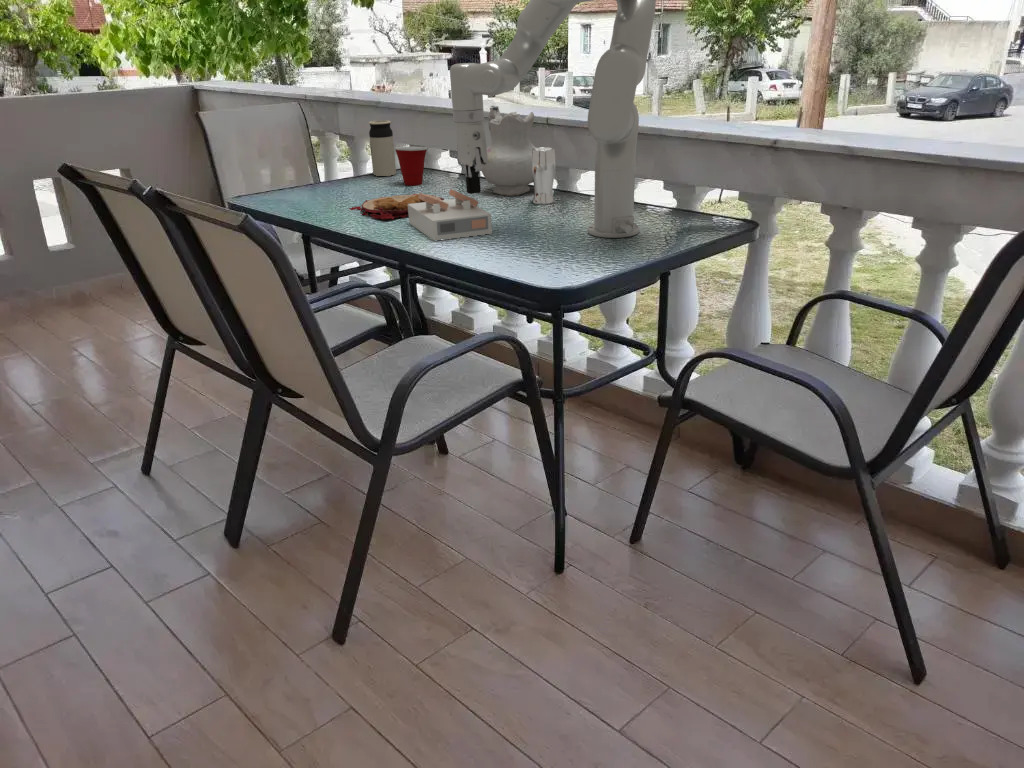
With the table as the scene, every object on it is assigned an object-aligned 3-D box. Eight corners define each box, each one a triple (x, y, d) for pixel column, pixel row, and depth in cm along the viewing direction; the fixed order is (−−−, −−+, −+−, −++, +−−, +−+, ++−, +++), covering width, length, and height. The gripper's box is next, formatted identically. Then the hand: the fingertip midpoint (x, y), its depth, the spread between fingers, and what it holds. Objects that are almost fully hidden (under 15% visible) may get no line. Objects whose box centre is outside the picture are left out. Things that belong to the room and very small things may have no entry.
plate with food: (463, 209, 227) (463, 197, 225) (384, 222, 211) (383, 209, 210) (415, 199, 244) (415, 187, 243) (339, 210, 229) (337, 198, 227)
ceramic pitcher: (464, 194, 248) (455, 112, 236) (508, 180, 259) (502, 101, 248) (513, 204, 234) (506, 116, 222) (557, 188, 245) (553, 104, 234)
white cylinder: (556, 199, 232) (555, 146, 225) (554, 204, 225) (554, 150, 219) (532, 199, 232) (531, 147, 226) (530, 204, 226) (529, 150, 220)
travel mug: (398, 173, 281) (394, 120, 273) (392, 177, 274) (387, 122, 266) (377, 173, 282) (371, 120, 275) (370, 177, 275) (365, 123, 267)
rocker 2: (476, 209, 201) (479, 201, 200) (453, 199, 197) (457, 191, 197) (469, 205, 205) (472, 198, 205) (447, 195, 202) (450, 188, 202)
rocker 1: (446, 212, 198) (449, 204, 198) (423, 203, 195) (425, 195, 194) (440, 207, 203) (442, 200, 202) (416, 199, 199) (419, 191, 199)
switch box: (492, 234, 196) (491, 205, 193) (434, 241, 191) (432, 211, 188) (462, 216, 215) (461, 189, 212) (409, 223, 209) (406, 195, 206)
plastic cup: (436, 182, 262) (434, 145, 257) (416, 188, 254) (413, 149, 249) (411, 180, 268) (408, 143, 263) (390, 185, 259) (387, 147, 254)
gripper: (493, 118, 189) (498, 195, 196) (472, 113, 201) (477, 186, 209) (464, 121, 186) (469, 199, 194) (444, 116, 199) (450, 190, 206)
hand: (473, 192), depth 201 cm, fingers closed
